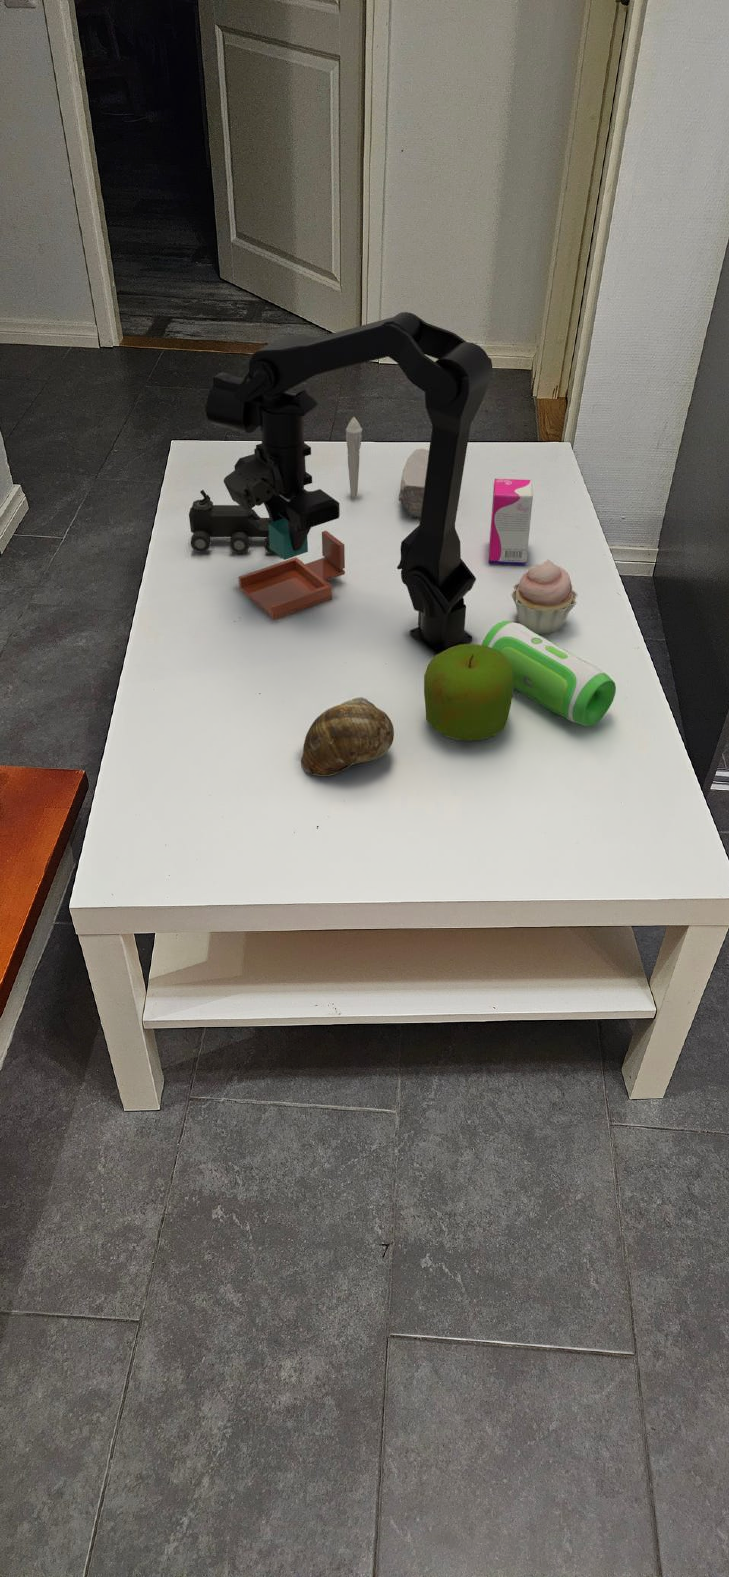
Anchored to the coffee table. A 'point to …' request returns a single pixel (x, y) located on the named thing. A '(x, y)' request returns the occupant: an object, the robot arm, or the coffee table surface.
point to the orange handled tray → (295, 581)
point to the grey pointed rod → (353, 454)
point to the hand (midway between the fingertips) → (288, 543)
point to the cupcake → (544, 598)
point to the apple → (468, 692)
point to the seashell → (346, 737)
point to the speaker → (553, 674)
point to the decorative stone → (414, 482)
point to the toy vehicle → (226, 525)
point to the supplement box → (510, 521)
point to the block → (283, 540)
